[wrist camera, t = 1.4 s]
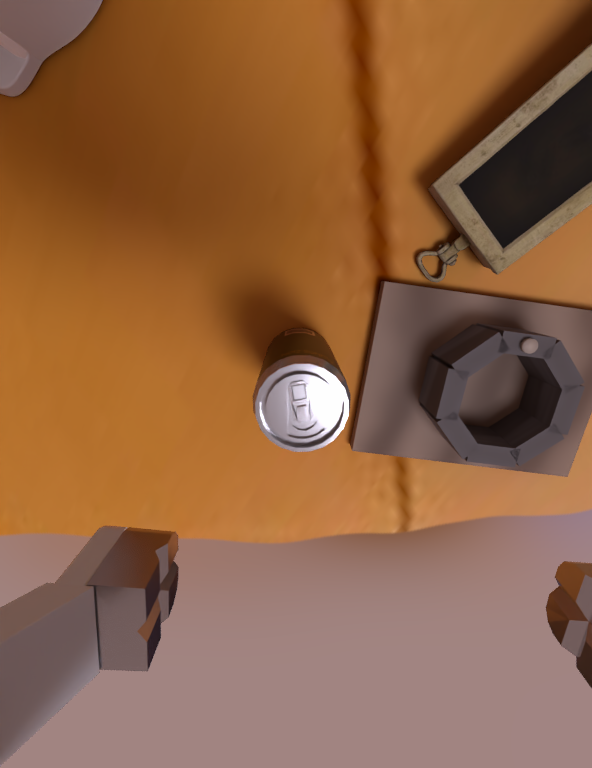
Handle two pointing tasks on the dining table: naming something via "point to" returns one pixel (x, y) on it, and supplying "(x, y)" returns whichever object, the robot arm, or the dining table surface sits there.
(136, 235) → the dining table surface
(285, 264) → the dining table surface
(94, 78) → the dining table surface
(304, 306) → the dining table surface
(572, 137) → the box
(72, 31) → the robot arm
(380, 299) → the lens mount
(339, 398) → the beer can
